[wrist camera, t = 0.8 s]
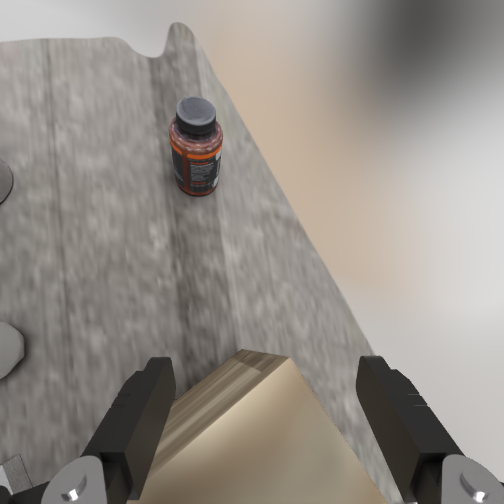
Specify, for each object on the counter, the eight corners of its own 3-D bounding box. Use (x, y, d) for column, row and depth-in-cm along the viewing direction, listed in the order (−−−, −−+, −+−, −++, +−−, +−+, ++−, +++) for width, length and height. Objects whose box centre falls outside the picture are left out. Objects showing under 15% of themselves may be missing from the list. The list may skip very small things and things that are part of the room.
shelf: (132, 433, 23) (17, 591, 8) (241, 349, 28) (289, 357, 13) (212, 592, 21) (247, 1212, 6) (318, 470, 25) (484, 647, 11)
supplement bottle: (226, 184, 35) (237, 118, 25) (193, 204, 33) (191, 142, 23) (200, 156, 36) (201, 81, 26) (166, 174, 34) (152, 100, 23)
